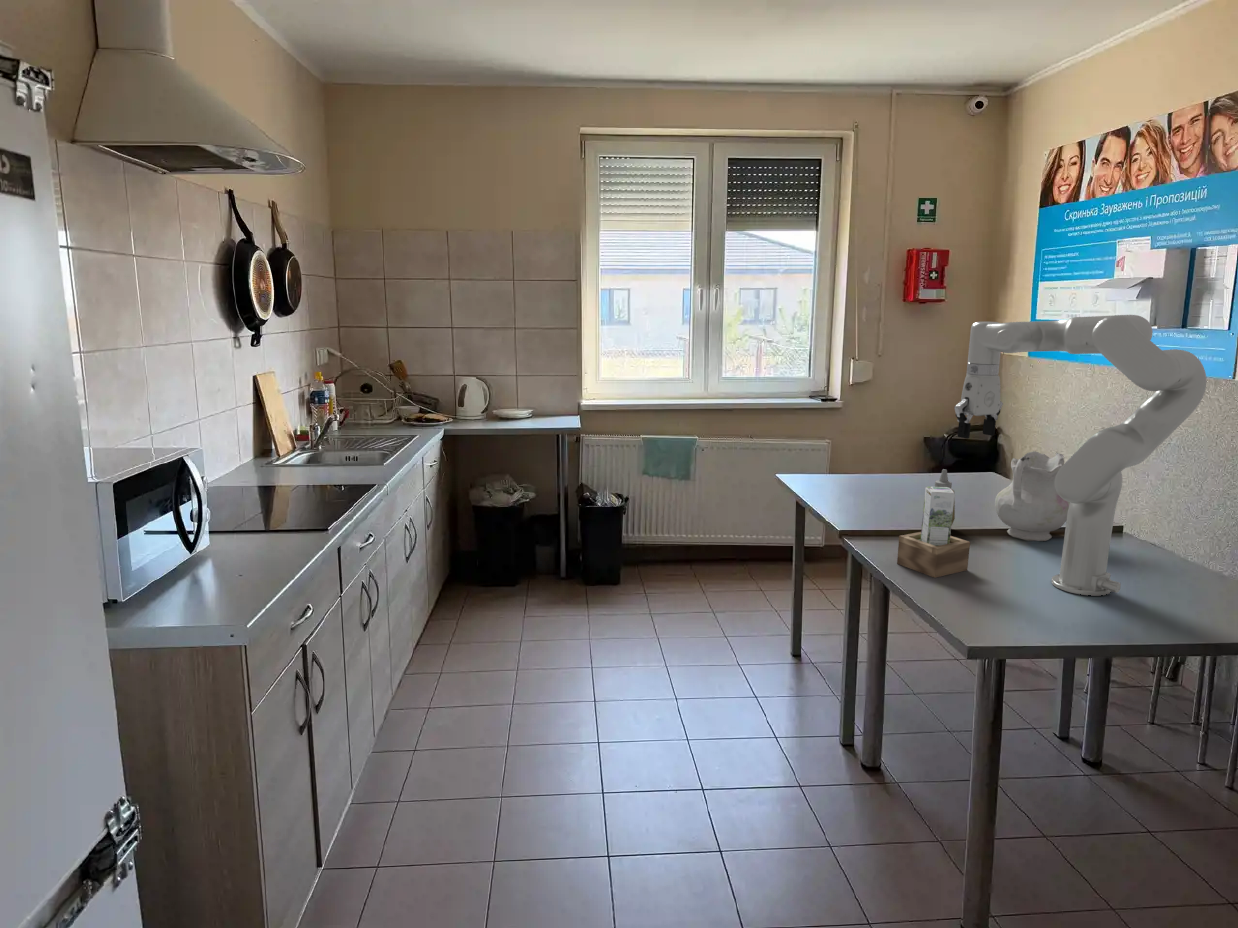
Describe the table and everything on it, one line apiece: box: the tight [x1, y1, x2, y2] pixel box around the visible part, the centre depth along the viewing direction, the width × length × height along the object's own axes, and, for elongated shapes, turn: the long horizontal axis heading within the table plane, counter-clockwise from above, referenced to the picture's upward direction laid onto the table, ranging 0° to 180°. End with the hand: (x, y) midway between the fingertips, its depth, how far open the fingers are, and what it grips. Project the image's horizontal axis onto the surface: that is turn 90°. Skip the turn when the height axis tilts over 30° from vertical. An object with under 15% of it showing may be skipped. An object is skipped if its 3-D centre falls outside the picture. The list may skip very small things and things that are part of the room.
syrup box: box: [920, 486, 956, 546], centre depth 207 cm, size 6×6×14 cm
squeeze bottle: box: [934, 468, 956, 527], centre depth 242 cm, size 8×8×18 cm
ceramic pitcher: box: [994, 450, 1070, 542], centre depth 235 cm, size 22×20×25 cm
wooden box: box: [896, 531, 971, 578], centre depth 210 cm, size 12×12×8 cm
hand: (975, 436), depth 214 cm, fingers open, 9 cm apart
